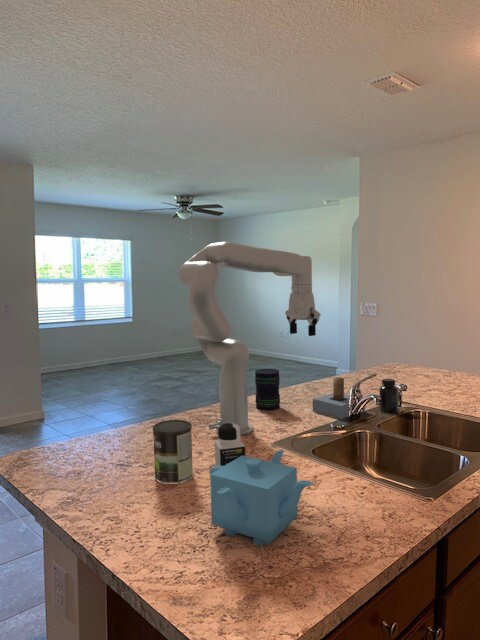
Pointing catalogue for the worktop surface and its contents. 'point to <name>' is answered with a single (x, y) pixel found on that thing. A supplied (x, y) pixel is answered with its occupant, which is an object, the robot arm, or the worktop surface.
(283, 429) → the worktop surface
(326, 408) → the socket
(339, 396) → the peg
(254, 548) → the worktop surface
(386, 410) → the supplement bottle
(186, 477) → the coffee can
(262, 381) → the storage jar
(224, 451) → the medicine bottle
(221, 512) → the teakettle
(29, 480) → the worktop surface
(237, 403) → the robot arm
